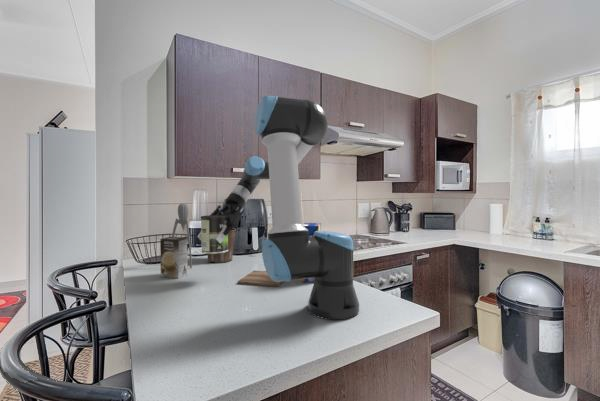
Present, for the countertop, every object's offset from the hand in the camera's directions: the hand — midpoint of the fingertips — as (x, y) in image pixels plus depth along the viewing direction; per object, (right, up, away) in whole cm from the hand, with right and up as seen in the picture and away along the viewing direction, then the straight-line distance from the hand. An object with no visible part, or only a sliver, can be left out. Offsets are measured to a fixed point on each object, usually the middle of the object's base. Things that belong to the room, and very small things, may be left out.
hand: (208, 240), depth 115 cm
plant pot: (-6, -16, +39) cm, 42 cm away
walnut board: (+21, -17, +5) cm, 27 cm away
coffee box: (-18, -17, +11) cm, 27 cm away
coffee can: (+2, -5, +3) cm, 6 cm away
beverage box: (+40, -17, +7) cm, 44 cm away
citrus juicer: (-19, -16, +26) cm, 36 cm away
